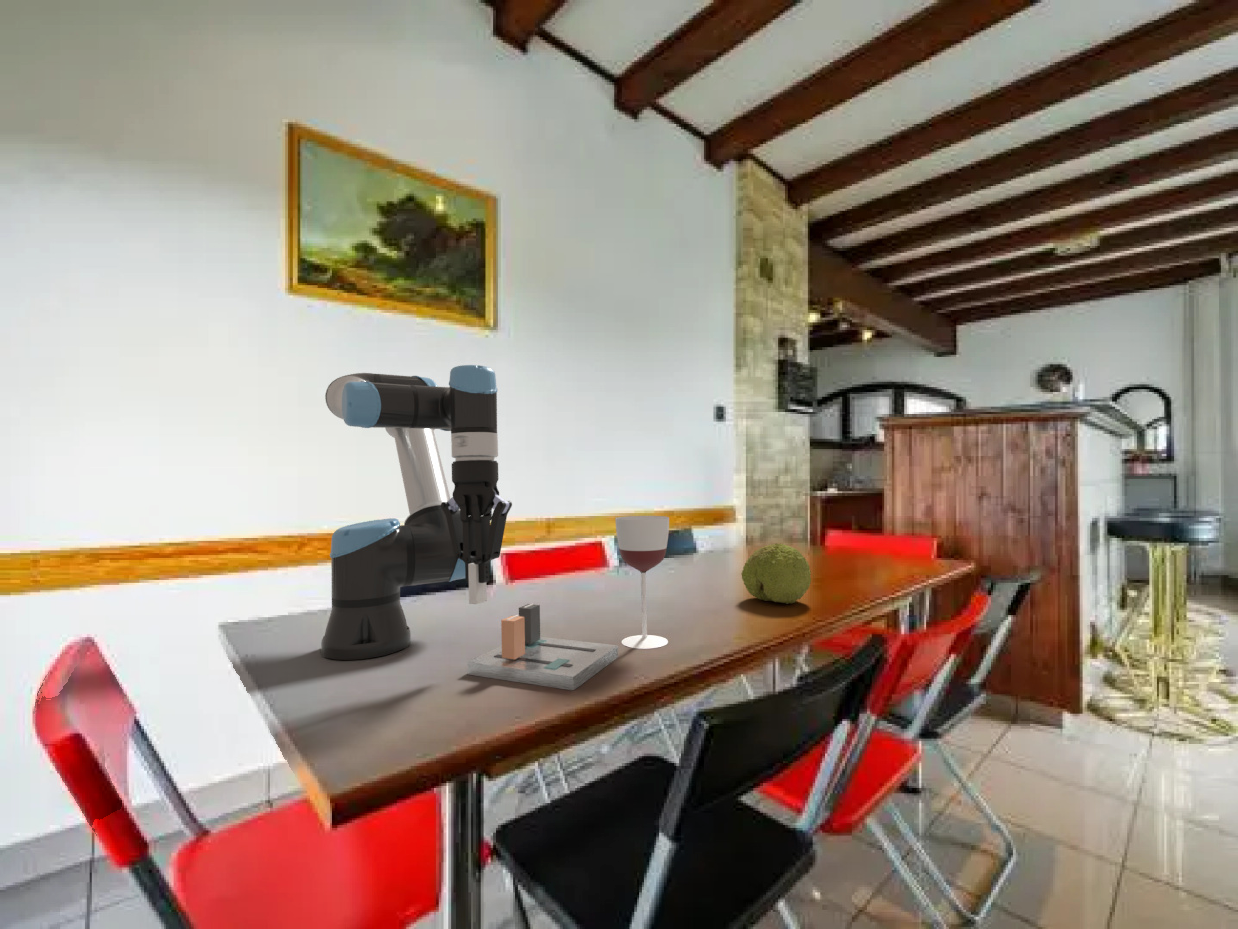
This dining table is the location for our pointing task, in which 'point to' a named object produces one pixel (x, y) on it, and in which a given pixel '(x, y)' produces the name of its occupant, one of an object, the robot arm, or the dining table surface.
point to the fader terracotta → (513, 637)
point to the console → (547, 663)
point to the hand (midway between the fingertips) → (478, 602)
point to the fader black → (531, 622)
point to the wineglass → (643, 561)
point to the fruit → (777, 574)
